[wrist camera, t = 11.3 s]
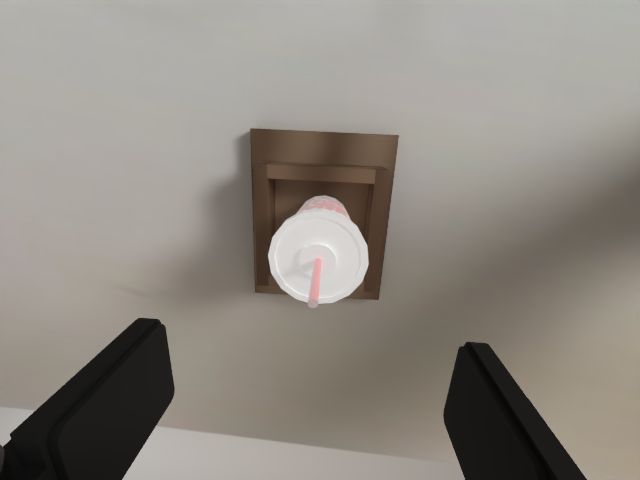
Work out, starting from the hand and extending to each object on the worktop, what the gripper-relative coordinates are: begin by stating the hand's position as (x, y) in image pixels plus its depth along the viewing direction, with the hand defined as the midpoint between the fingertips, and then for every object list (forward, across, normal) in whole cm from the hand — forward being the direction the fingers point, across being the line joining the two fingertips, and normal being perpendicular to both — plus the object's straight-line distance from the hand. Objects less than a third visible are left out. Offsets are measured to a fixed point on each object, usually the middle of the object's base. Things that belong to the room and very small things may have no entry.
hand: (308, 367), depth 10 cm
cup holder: (+19, +1, 0) cm, 19 cm away
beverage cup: (+18, 0, 0) cm, 18 cm away
